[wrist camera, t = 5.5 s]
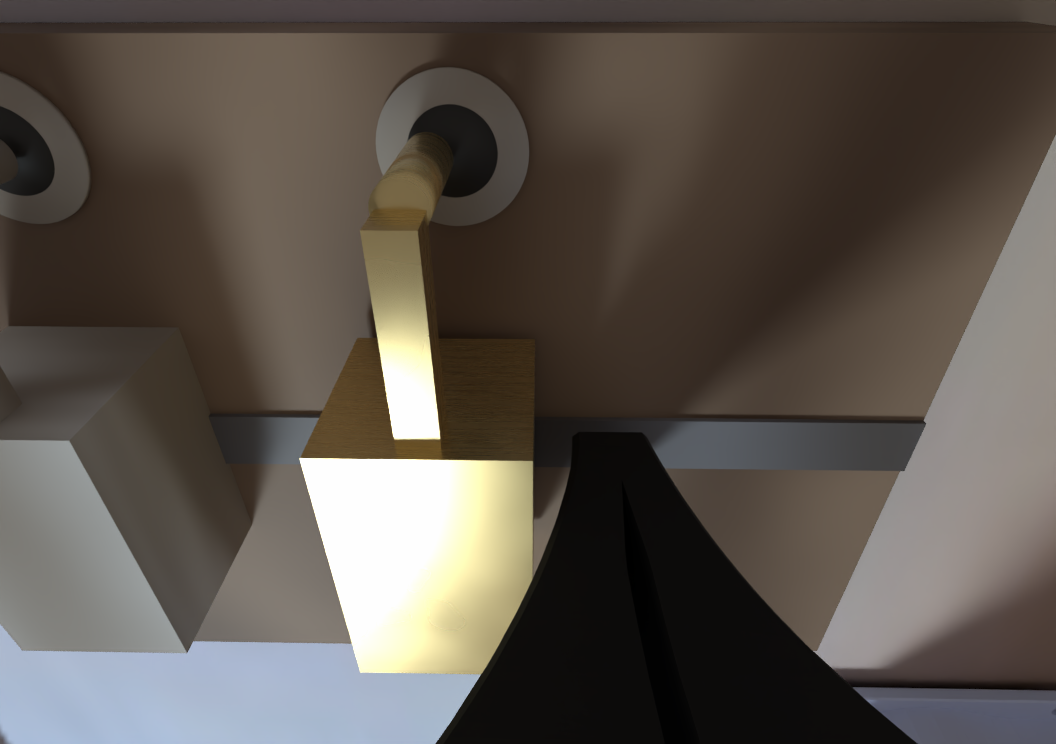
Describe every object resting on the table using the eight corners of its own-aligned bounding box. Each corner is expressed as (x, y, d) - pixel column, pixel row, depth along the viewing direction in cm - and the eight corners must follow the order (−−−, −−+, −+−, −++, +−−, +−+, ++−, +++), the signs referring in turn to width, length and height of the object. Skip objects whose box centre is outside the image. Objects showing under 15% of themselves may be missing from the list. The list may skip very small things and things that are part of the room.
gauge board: (1026, 22, 9) (1357, 70, 5) (796, 600, 17) (867, 780, 13) (-157, 23, 9) (-611, 69, 6) (155, 591, 17) (50, 765, 14)
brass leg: (536, 130, 8) (533, 204, 6) (534, 539, 13) (532, 675, 11) (318, 129, 8) (226, 203, 6) (394, 537, 13) (360, 672, 11)
